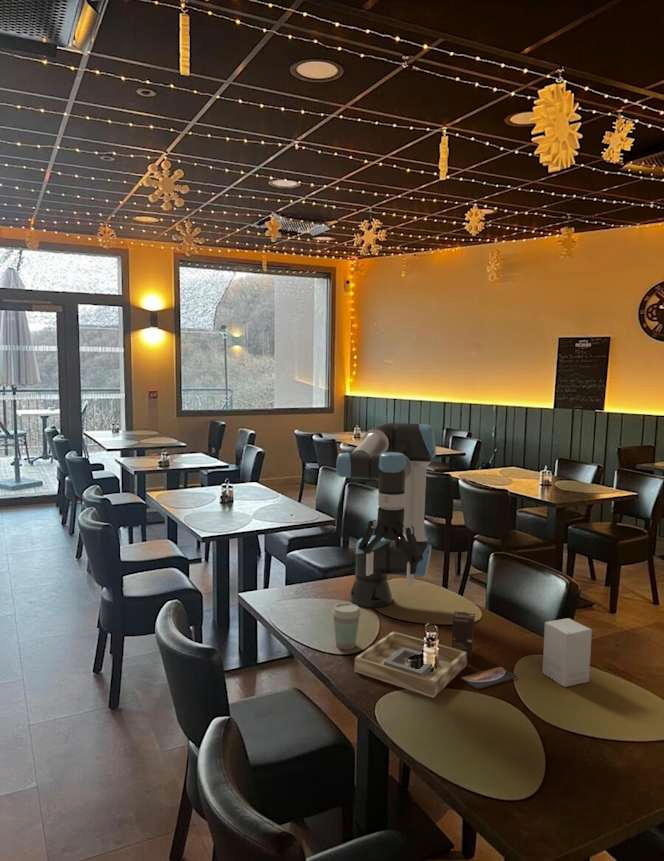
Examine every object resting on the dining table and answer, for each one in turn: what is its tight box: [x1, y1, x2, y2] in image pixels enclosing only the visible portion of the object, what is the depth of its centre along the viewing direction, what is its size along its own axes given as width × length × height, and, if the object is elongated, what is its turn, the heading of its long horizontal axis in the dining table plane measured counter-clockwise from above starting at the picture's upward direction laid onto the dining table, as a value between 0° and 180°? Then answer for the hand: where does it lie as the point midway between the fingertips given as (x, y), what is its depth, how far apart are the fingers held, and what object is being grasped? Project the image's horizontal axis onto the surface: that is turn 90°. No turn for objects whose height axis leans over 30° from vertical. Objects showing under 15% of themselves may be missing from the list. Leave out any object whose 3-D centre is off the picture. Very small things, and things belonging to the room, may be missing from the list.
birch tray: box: [354, 630, 468, 699], centre depth 180 cm, size 22×24×4 cm
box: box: [451, 611, 476, 658], centre depth 189 cm, size 6×4×12 cm
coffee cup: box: [331, 602, 361, 651], centre depth 193 cm, size 8×8×12 cm
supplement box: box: [542, 617, 593, 688], centre depth 176 cm, size 9×9×15 cm
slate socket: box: [384, 647, 439, 678], centre depth 180 cm, size 12×12×2 cm
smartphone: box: [460, 666, 518, 691], centre depth 175 cm, size 8×1×15 cm
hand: (389, 579), depth 184 cm, fingers open, 13 cm apart
